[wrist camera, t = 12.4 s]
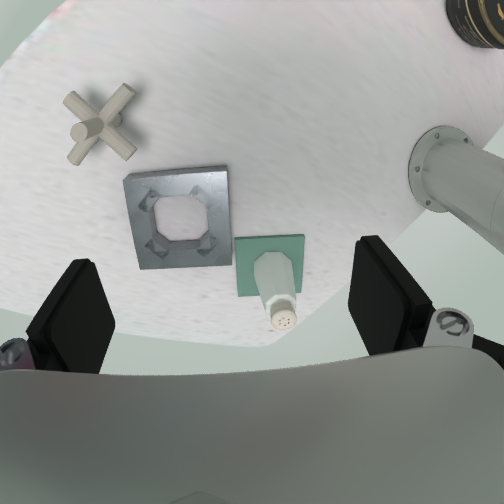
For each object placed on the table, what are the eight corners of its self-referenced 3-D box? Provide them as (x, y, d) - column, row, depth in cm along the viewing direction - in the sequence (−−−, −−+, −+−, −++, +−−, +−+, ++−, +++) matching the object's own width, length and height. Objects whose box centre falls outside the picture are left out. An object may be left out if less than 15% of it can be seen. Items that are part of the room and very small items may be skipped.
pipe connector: (113, 63, 29) (76, 57, 21) (172, 115, 33) (151, 124, 24) (64, 126, 32) (20, 142, 23) (118, 175, 36) (87, 205, 27)
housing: (226, 165, 37) (226, 171, 34) (232, 254, 42) (232, 265, 40) (129, 174, 36) (122, 180, 34) (144, 259, 42) (140, 269, 40)
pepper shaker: (246, 277, 44) (250, 333, 34) (262, 244, 41) (272, 295, 32) (281, 288, 45) (294, 343, 35) (299, 257, 43) (318, 309, 33)
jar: (480, 62, 30) (516, 65, 23) (433, 16, 27) (468, 10, 21) (497, 19, 26) (530, 18, 19) (452, -26, 23) (485, -35, 16)
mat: (303, 234, 42) (304, 236, 41) (300, 290, 46) (301, 292, 46) (234, 237, 41) (234, 239, 41) (238, 294, 46) (238, 296, 45)
